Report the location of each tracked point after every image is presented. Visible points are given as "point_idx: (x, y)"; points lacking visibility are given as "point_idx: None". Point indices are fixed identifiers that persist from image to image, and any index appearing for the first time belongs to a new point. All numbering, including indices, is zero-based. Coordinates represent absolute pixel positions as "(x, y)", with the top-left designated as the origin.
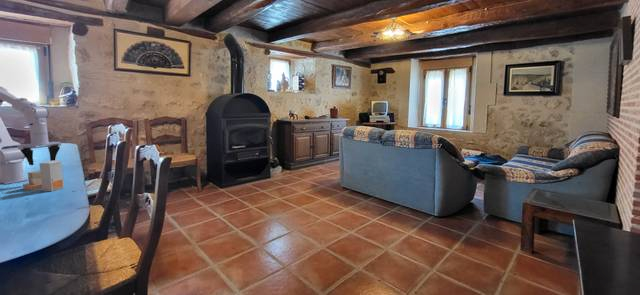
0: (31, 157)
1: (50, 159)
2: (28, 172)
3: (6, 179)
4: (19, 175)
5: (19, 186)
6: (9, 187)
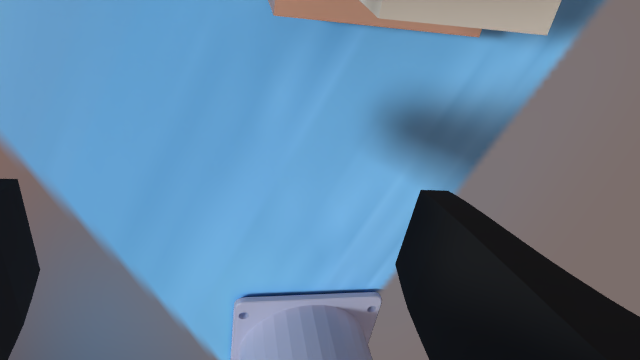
0: (581, 308)
1: (17, 322)
2: (552, 12)
3: (364, 338)
4: (295, 348)
5: (394, 152)
6: (439, 182)
